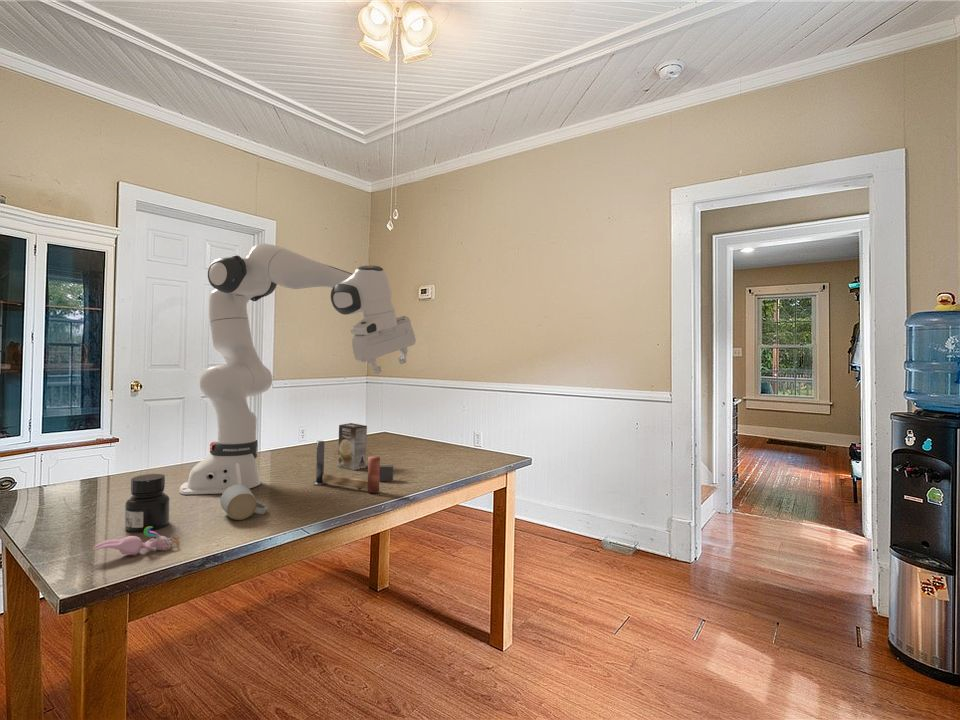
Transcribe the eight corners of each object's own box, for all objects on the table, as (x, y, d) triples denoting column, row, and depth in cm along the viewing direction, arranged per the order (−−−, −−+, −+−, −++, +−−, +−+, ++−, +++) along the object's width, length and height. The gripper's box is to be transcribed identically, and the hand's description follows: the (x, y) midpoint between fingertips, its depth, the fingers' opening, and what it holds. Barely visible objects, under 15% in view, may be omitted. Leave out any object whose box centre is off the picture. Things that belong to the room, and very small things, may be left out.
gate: (319, 485, 155) (320, 452, 155) (327, 482, 158) (328, 450, 158) (374, 494, 147) (375, 459, 147) (381, 490, 150) (382, 457, 150)
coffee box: (336, 467, 180) (337, 424, 180) (349, 463, 186) (350, 422, 185) (353, 470, 175) (354, 427, 175) (366, 467, 181) (367, 425, 181)
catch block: (377, 481, 162) (378, 466, 162) (378, 479, 164) (378, 465, 164) (392, 481, 162) (393, 466, 162) (392, 479, 165) (393, 465, 165)
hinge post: (313, 486, 154) (314, 442, 154) (312, 482, 158) (313, 440, 158) (326, 485, 156) (327, 442, 156) (325, 481, 160) (326, 440, 159)
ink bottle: (121, 524, 117) (122, 476, 117) (164, 516, 123) (164, 470, 123) (128, 536, 110) (129, 484, 110) (173, 527, 117) (174, 478, 116)
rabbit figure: (175, 547, 108) (91, 552, 99) (180, 521, 109) (98, 523, 100) (178, 557, 103) (90, 563, 94) (184, 529, 104) (96, 532, 95)
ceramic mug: (226, 524, 119) (228, 493, 119) (219, 515, 126) (220, 486, 126) (271, 516, 126) (272, 487, 126) (262, 508, 133) (263, 480, 132)
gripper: (402, 314, 147) (410, 357, 150) (345, 330, 132) (356, 377, 136) (415, 314, 143) (423, 358, 146) (358, 330, 128) (369, 379, 132)
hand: (390, 367), depth 141 cm, fingers open, 8 cm apart
